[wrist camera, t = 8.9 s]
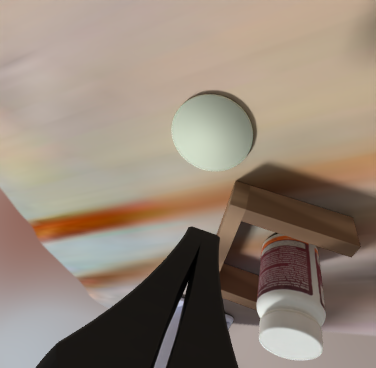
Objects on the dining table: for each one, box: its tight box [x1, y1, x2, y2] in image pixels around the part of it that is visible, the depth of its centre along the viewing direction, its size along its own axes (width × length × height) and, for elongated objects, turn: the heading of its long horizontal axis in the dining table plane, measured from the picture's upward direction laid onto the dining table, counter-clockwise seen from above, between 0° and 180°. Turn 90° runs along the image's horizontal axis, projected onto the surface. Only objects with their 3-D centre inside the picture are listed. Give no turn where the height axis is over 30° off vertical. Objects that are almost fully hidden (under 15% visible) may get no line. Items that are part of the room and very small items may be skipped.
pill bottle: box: [256, 234, 326, 360], centre depth 22 cm, size 5×5×8 cm
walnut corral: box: [217, 181, 361, 310], centre depth 24 cm, size 11×9×3 cm
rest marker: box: [172, 94, 253, 171], centre depth 21 cm, size 6×6×1 cm
